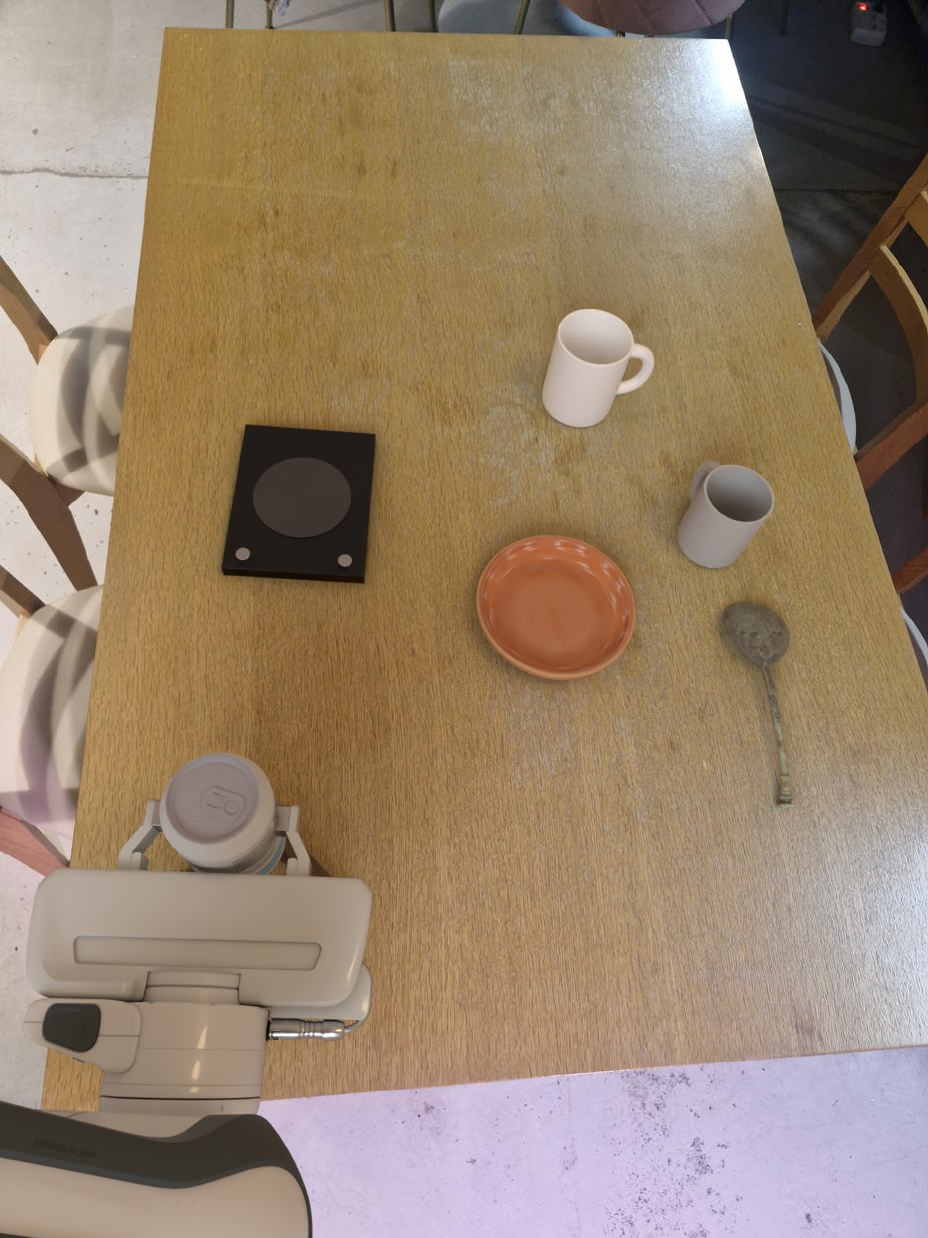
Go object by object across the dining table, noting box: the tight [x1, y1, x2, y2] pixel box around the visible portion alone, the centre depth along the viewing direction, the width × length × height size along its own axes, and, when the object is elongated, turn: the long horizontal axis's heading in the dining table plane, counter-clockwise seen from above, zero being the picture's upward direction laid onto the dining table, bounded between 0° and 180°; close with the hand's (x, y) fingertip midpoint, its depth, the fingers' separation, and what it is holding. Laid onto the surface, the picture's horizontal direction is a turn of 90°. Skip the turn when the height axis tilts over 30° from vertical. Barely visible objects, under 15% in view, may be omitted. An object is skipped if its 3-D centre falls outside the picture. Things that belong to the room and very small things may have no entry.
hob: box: [220, 423, 377, 585], centre depth 88 cm, size 18×14×2 cm
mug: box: [541, 308, 655, 428], centre depth 95 cm, size 12×8×10 cm
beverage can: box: [159, 751, 286, 875], centre depth 57 cm, size 7×7×12 cm
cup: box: [676, 459, 776, 569], centre depth 89 cm, size 7×10×9 cm
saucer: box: [475, 534, 637, 681], centre depth 85 cm, size 16×16×3 cm
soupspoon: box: [723, 602, 798, 809], centre depth 83 cm, size 22×3×7 cm
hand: (225, 804), depth 56 cm, fingers closed on beverage can, 7 cm apart
